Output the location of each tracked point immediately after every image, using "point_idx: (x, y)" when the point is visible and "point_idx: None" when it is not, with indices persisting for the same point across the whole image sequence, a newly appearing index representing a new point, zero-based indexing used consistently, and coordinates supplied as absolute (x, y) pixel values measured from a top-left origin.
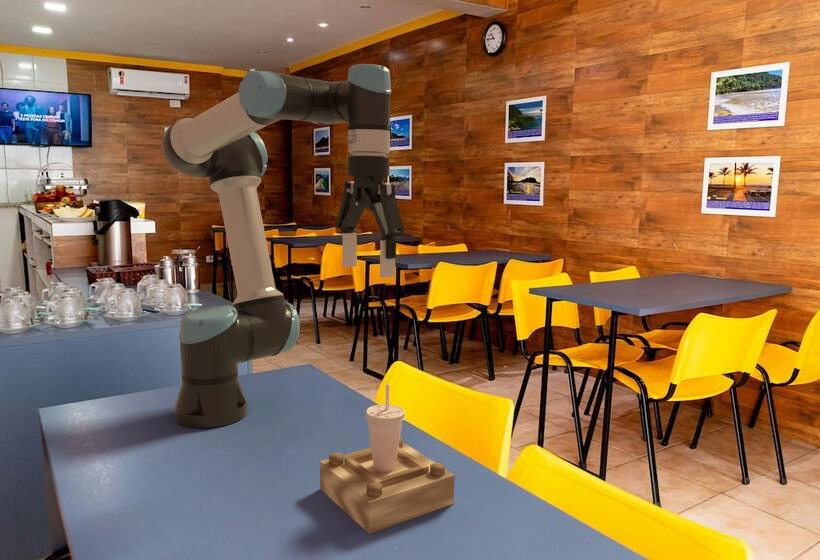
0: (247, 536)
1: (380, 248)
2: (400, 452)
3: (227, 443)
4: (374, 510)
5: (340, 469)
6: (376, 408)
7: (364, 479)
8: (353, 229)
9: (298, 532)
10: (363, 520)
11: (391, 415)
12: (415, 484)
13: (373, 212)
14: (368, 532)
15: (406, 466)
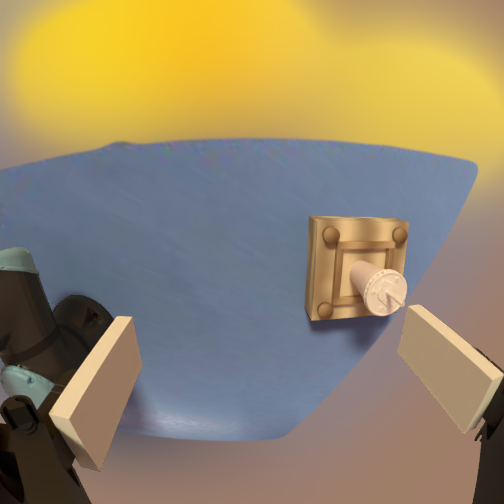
0: (330, 371)
1: (447, 412)
2: (357, 248)
3: (162, 343)
4: None
5: (338, 311)
6: (374, 299)
7: None
8: (50, 440)
9: (349, 343)
10: None
11: (399, 294)
12: (399, 264)
13: None
14: None
15: (372, 252)
